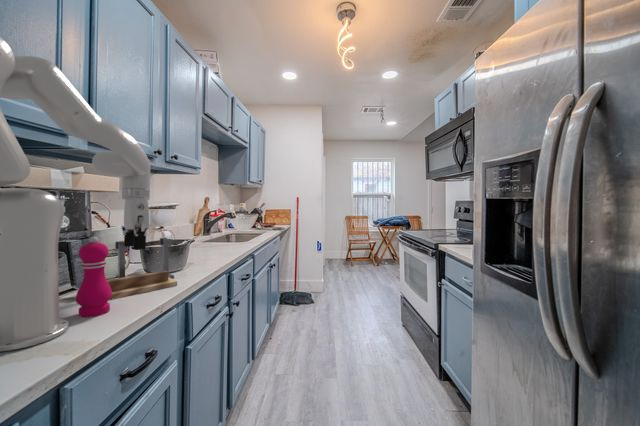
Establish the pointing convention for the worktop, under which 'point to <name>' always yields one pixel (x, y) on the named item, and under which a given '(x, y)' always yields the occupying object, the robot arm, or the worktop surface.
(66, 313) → the worktop surface
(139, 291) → the oak board
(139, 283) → the walnut rail
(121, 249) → the hook stands
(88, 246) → the pepper mill
